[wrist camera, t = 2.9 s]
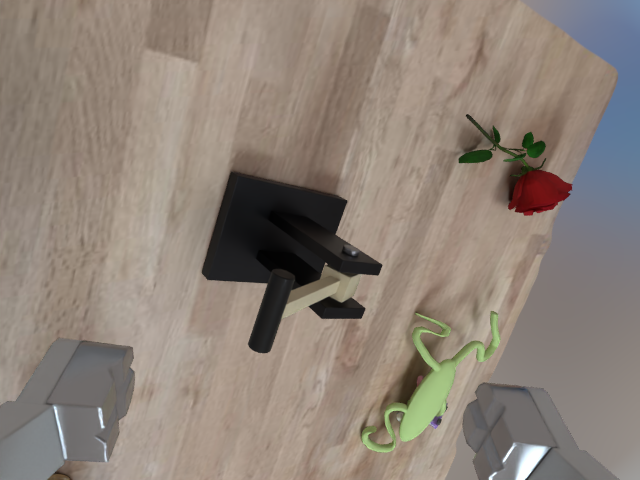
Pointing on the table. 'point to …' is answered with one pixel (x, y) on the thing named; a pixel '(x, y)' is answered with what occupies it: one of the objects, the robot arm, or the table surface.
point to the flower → (525, 176)
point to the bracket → (283, 239)
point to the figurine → (429, 388)
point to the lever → (296, 301)
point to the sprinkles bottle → (58, 477)
